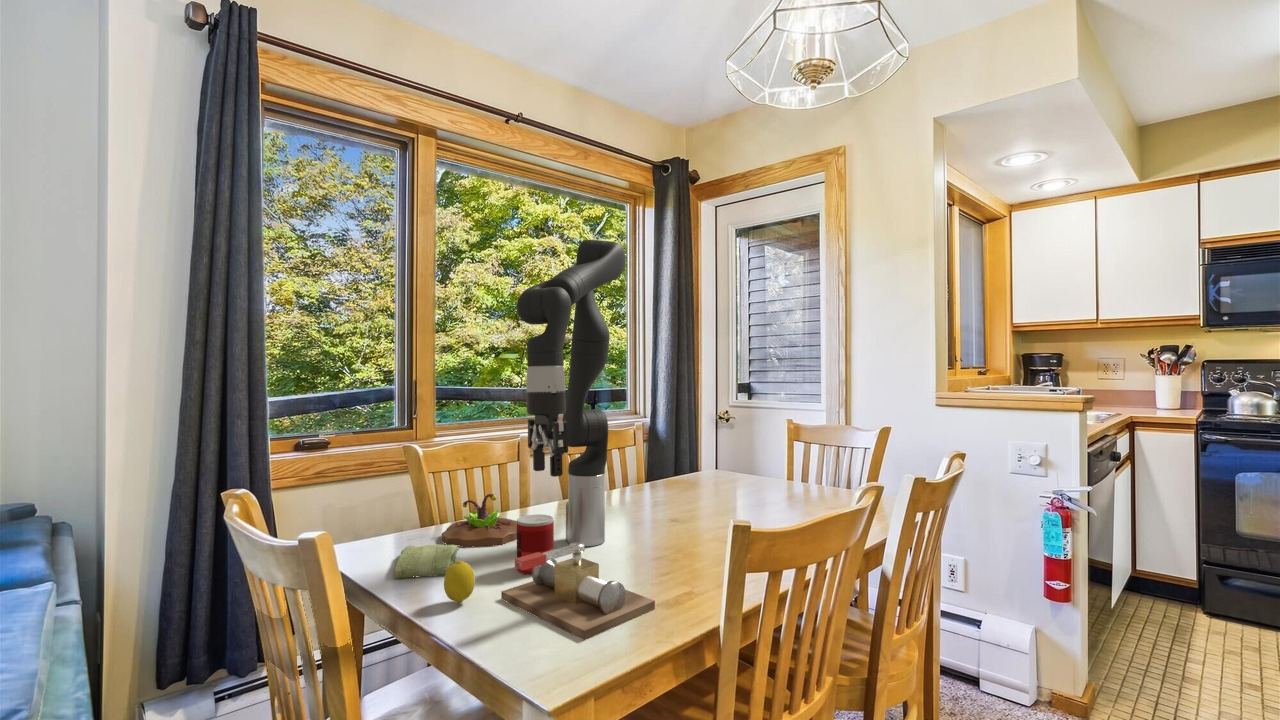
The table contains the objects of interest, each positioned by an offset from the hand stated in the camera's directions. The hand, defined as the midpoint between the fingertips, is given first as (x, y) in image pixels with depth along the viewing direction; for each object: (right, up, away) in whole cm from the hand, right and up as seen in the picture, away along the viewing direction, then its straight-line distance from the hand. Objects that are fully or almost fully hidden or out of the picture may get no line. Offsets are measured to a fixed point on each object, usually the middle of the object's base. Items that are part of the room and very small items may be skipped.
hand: (547, 473), depth 115 cm
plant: (-23, -24, +39) cm, 52 cm away
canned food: (-5, -24, +14) cm, 28 cm away
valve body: (+6, -24, -4) cm, 25 cm away
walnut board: (+6, -24, -4) cm, 25 cm away
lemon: (-16, -24, -4) cm, 29 cm away
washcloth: (-30, -24, +17) cm, 42 cm away
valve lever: (+2, -14, -9) cm, 16 cm away
